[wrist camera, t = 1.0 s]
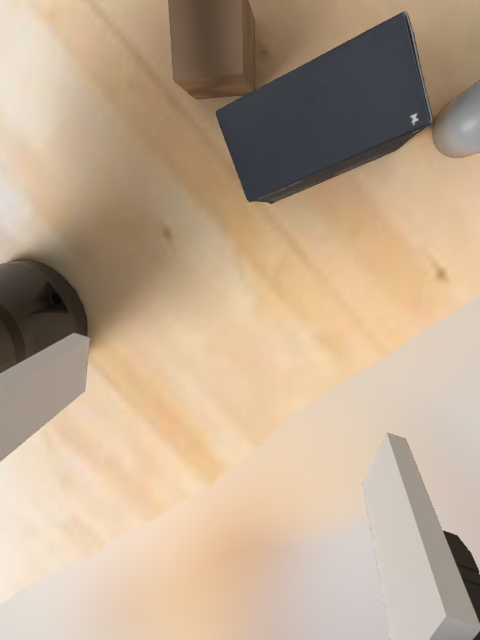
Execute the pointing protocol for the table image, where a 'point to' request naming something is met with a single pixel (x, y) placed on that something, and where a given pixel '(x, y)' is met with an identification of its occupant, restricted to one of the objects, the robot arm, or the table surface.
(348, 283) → the table surface
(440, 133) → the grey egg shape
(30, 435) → the robot arm
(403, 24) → the small box
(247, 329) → the table surface
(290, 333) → the table surface
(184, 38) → the walnut cube
